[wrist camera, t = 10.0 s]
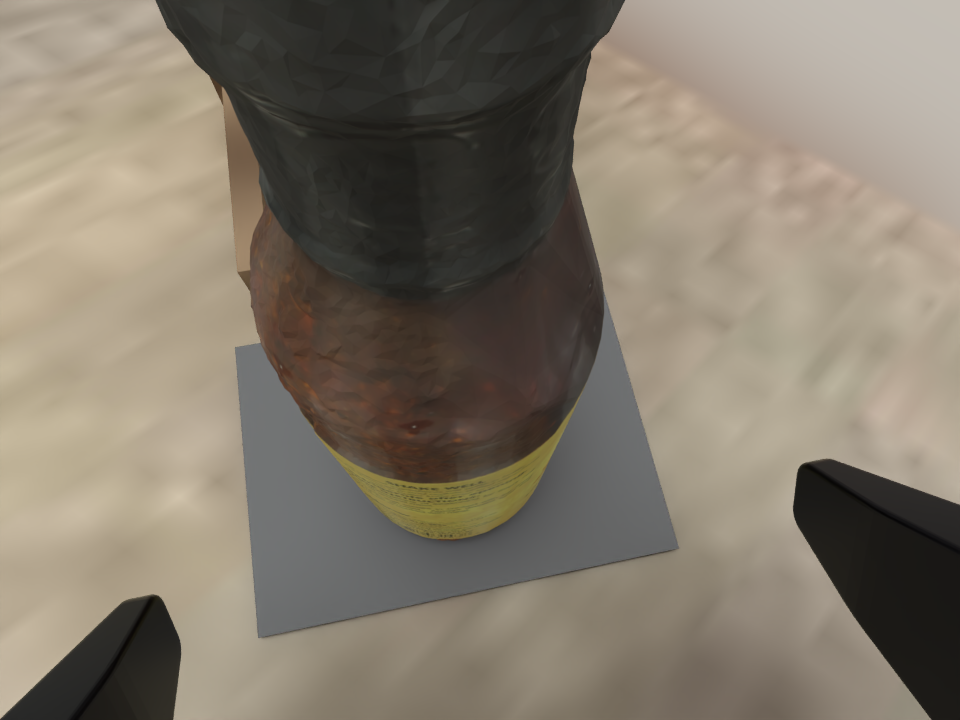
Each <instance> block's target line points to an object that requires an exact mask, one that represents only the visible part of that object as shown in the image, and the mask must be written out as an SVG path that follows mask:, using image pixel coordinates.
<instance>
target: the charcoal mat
mask: <svg viewBox="0 0 960 720" xmlns="http://www.w3.org/2000/svg"><path fill="white" fill-rule="evenodd" d="M235 352H236V364H237V377H238V389H239V402H240V415H241V427H242V440H243V452H244V465H245V477H246V490H247V502H248V515H249V527H250V540H251V553H252V565H253V578H254V590H255V603H256V615H257V628H258V638H260V637H265V636H270V635H275V634H279V633H284V632H289V631H293V630H298V629H303V628H307V627H312V626H317V625H321V624H326V623H331V622H336V621H340V620H345V619H350V618H354V617H359V616H364V615H368V614H373V613H378V612H382V611H387V610H392V609H397V608H401V607H406V606H411V605H415V604H420V603H425V602H429V601H434V600H439V599H443V598H448V597H453V596H458V595H462V594H467V593H472V592H476V591H481V590H486V589H490V588H495V587H500V586H504V585H509V584H514V583H519V582H523V581H528V580H533V579H537V578H542V577H547V576H551V575H556V574H561V573H565V572H570V571H575V570H579V569H584V568H589V567H594V566H598V565H603V564H608V563H612V562H617V561H622V560H626V559H631V558H636V557H640V556H645V555H650V554H655V553H659V552H664V551H669V550H673V549H678V548H679V547H678V543H677V540H676V536H675V533H674V529H673V526H672V523H671V519H670V516H669V512H668V509H667V506H666V502H665V499H664V495H663V492H662V488H661V485H660V482H659V478H658V475H657V471H656V468H655V465H654V461H653V458H652V454H651V451H650V447H649V444H648V441H647V437H646V434H645V430H644V427H643V424H642V420H641V417H640V413H639V410H638V406H637V403H636V400H635V396H634V393H633V389H632V386H631V383H630V379H629V376H628V372H627V369H626V365H625V362H624V359H623V355H622V352H621V348H620V345H619V342H618V338H617V335H616V331H615V328H614V324H613V321H612V318H611V314H610V311H609V307H608V304H607V300H606V297H605V294H604V319H603V327H602V336H601V341H600V344H599V348H598V352H597V356H596V360H595V363H594V365H593V368H592V370H591V373H590V375H589V378H588V380H587V383H586V385H585V388H584V390H583V392H582V394H581V396H580V398H579V400H578V402H577V405H576V407H575V409H574V411H573V413H572V415H571V418H570V420H569V422H568V424H567V426H566V428H565V430H564V432H563V434H562V436H561V438H560V440H559V442H558V444H557V446H556V448H555V450H554V452H553V454H552V456H551V458H550V460H549V462H548V465H547V467H546V469H545V471H544V473H543V475H542V477H541V479H540V481H539V483H538V485H537V487H536V489H535V490H534V492H533V494H532V495H531V496H530V498H529V499H528V501H527V502H526V503H525V504H524V506H523V507H522V508H521V509H520V510H519V511H518V512H517V513H516V514H515V515H514V516H512V517H511V518H510V519H509V520H507V521H506V522H504V523H502V524H500V525H499V526H497V527H495V528H493V529H492V530H490V531H488V532H485V533H482V534H479V535H475V536H472V537H467V538H462V539H459V540H456V541H450V540H444V541H441V540H437V539H432V538H426V537H422V536H419V535H417V534H414V533H412V532H409V531H407V530H405V529H404V528H402V527H400V526H399V525H397V524H395V523H393V522H392V521H391V520H390V519H388V518H387V517H386V516H385V515H384V514H382V513H381V512H380V511H379V509H378V508H377V507H376V506H375V505H374V504H373V503H372V502H371V501H370V500H369V498H368V497H367V496H366V495H365V494H364V493H363V491H362V490H361V489H360V488H359V487H358V485H357V484H356V483H355V481H354V480H353V479H352V478H351V477H350V475H349V474H348V473H347V471H346V470H345V469H344V468H343V467H342V465H341V464H340V463H339V462H338V461H337V459H336V458H335V457H334V456H333V455H332V453H331V452H330V451H329V450H328V448H327V447H326V446H325V445H324V444H323V442H322V441H321V440H320V439H319V437H318V436H317V435H316V434H315V432H314V429H313V428H312V426H311V425H310V424H309V422H308V421H307V420H306V418H305V417H304V416H303V414H302V413H301V411H300V409H299V406H298V404H297V403H296V402H295V400H294V399H293V397H292V396H291V394H290V392H288V391H287V390H286V389H285V388H284V387H283V385H282V383H281V382H280V380H279V377H278V374H277V372H276V371H275V369H274V368H273V366H272V365H271V363H270V361H269V360H268V359H267V356H266V353H265V351H264V350H263V348H262V346H261V343H258V344H252V345H246V346H240V347H235Z"/></svg>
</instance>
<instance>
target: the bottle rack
mask: <svg viewBox="0 0 960 720" xmlns="http://www.w3.org/2000/svg"><path fill="white" fill-rule="evenodd" d="M210 78H211V77H210ZM211 80H212V83H213V85H214V87H215V89H216V91H217V93H218V95H219V98H220V100H221V102H222V104H223V107H224V119H225V131H226V142H227V154H228V166H229V178H230V190H231V202H232V213H233V225H234V237H235V249H236V261H237V272H238V274H239V275H240V277H241V278H242V280H243V281H244V283H245V284H246V286H247V287H248V289H249V290H250V289H251V287H250V273H249V272H250V270H251V269H250V245H251V242H252V237H253V233H254V230H255V228H256V226H257V223H258V221H259V219H260V217H261V215H262V213H263V210H264V208H265V205H266V201H265V199H264V196H263V193H262V190H261V187H260V184H259V171H260V165H259V163H258V161H257V159H256V157H255V155H254V152H253V150H252V148H251V145H250V143H249V141H248V138H247V137H246V135H245V133H244V131H243V129H242V127H241V125H240V123H239V121H238V118H237V116H236V114H235V111H234V109H233V106H232V104H231V101H230V99H229V96H228V95H227V93H226V91H225V89H224V88H223V87H222V86H221V85H220V84H219V83H217V82H216V81H215V80H214V79H213V78H211Z"/></svg>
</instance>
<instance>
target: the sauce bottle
mask: <svg viewBox="0 0 960 720" xmlns="http://www.w3.org/2000/svg"><path fill="white" fill-rule="evenodd" d="M624 1H625V0H156V3H157V5H158V7H159V9H160V12H161V14H162V16H163V18H164V21H165V23H166V25H167V28H168V29H169V30H170V31H171V32H172V33H173V34H174V35H175V37H176V38H177V39H178V40H179V41H180V42H181V43H182V44H183V45H184V47H185V48H186V50H187V51H188V53H189V54H190V56H191V57H192V59H193V60H194V62H195V63H196V64H197V65H198V66H199V67H200V68H201V69H202V70H204V71H205V72H206V73H207V74H208V75H209V76H210V77H211V78H213V79H214V80H215V81H216V82H217V83H219V84H220V85H221V86H222V87H223V88H224V89H225V91H226V93H227V95H228V96H229V99H230V101H231V104H232V106H233V109H234V111H235V114H236V116H237V118H238V121H239V123H240V125H241V127H242V129H243V131H244V133H245V135H246V137H247V138H248V141H249V143H250V145H251V148H252V150H253V152H254V155H255V157H256V159H257V161H258V163H259V165H260V171H259V184H260V187H261V190H262V193H263V196H264V199H265V201H266V205H265V208H264V210H263V213H262V215H261V217H260V219H259V221H258V223H257V226H256V228H255V230H254V233H253V237H252V242H251V245H250V269H251V270H250V272H249V273H250V287H251V289H250V294H251V307H252V309H253V311H254V317H255V322H256V328H257V332H258V334H259V337H260V341H261V346H262V348H263V350H264V351H265V353H266V356H267V359H268V360H269V361H270V363H271V365H272V366H273V368H274V369H275V371H276V372H277V374H278V377H279V380H280V382H281V383H282V385H283V387H284V388H285V389H286V390H287V391H288V392H290V394H291V396H292V397H293V399H294V400H295V402H296V403H297V404H298V406H299V409H300V411H301V413H302V414H303V416H304V417H305V418H306V420H307V421H308V422H309V424H310V425H311V426H312V428H313V429H314V432H315V434H316V435H317V436H318V437H319V439H320V440H321V441H322V442H323V444H324V445H325V446H326V447H327V448H328V450H329V451H330V452H331V453H332V455H333V456H334V457H335V458H336V459H337V461H338V462H339V463H340V464H341V465H342V467H343V468H344V469H345V470H346V471H347V473H348V474H349V475H350V477H351V478H352V479H353V480H354V481H355V483H356V484H357V485H358V487H359V488H360V489H361V490H362V491H363V493H364V494H365V495H366V496H367V497H368V498H369V500H370V501H371V502H372V503H373V504H374V505H375V506H376V507H377V508H378V509H379V511H380V512H381V513H382V514H384V515H385V516H386V517H387V518H388V519H390V520H391V521H392V522H393V523H395V524H397V525H399V526H400V527H402V528H404V529H405V530H407V531H409V532H412V533H414V534H417V535H419V536H422V537H426V538H432V539H437V540H441V541H444V540H450V541H456V540H459V539H462V538H467V537H472V536H475V535H479V534H482V533H485V532H488V531H490V530H492V529H493V528H495V527H497V526H499V525H500V524H502V523H504V522H506V521H507V520H509V519H510V518H511V517H512V516H514V515H515V514H516V513H517V512H518V511H519V510H520V509H521V508H522V507H523V506H524V504H525V503H526V502H527V501H528V499H529V498H530V496H531V495H532V494H533V492H534V490H535V489H536V487H537V485H538V483H539V481H540V479H541V477H542V475H543V473H544V471H545V469H546V467H547V465H548V462H549V460H550V458H551V456H552V454H553V452H554V450H555V448H556V446H557V444H558V442H559V440H560V438H561V436H562V434H563V432H564V430H565V428H566V426H567V424H568V422H569V420H570V418H571V415H572V413H573V411H574V409H575V407H576V405H577V402H578V400H579V398H580V396H581V394H582V392H583V390H584V388H585V385H586V383H587V380H588V378H589V375H590V373H591V370H592V368H593V365H594V363H595V360H596V356H597V352H598V348H599V344H600V341H601V336H602V327H603V319H604V289H603V283H602V277H601V272H600V268H599V264H598V261H597V257H596V253H595V249H594V246H593V242H592V238H591V234H590V231H589V227H588V223H587V220H586V216H585V212H584V209H583V205H582V201H581V198H580V194H579V190H578V187H577V183H576V179H575V176H574V172H573V168H572V162H573V149H574V139H573V135H574V129H575V125H576V121H577V116H578V110H579V105H580V101H581V96H582V91H583V87H584V84H585V81H586V73H587V68H588V65H589V62H590V59H591V51H592V50H593V48H594V47H595V46H596V44H597V43H598V42H599V40H600V39H601V38H603V37H604V36H605V35H606V34H607V33H608V32H609V31H610V29H611V27H612V25H613V23H614V21H615V19H616V17H617V15H618V13H619V11H620V9H621V7H622V5H623V3H624Z"/></svg>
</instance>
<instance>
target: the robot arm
mask: <svg viewBox="0 0 960 720" xmlns="http://www.w3.org/2000/svg"><path fill="white" fill-rule="evenodd" d="M793 513H794V518H795V521H796V523H797V525H798V527H799V529H800V531H801V532H802V534H803V535H804V537H805V539H806V540H807V542H808V544H809V545H810V547H811V549H812V550H813V552H814V553H815V555H816V557H817V558H818V560H819V562H820V563H821V565H822V566H823V568H824V570H825V571H826V573H827V575H828V576H829V578H830V579H831V581H832V583H833V584H834V586H835V588H836V589H837V591H838V593H839V594H840V596H841V597H842V599H843V601H844V602H845V604H846V605H847V607H848V608H849V610H850V611H851V613H852V614H853V616H854V617H855V619H856V620H857V621H858V623H859V624H860V626H861V627H862V628H863V630H864V631H865V633H866V634H867V635H868V636H869V638H870V639H871V640H872V642H873V643H874V644H875V646H876V647H877V648H878V650H879V651H880V652H881V654H882V655H883V656H884V658H885V659H886V660H887V662H888V663H889V664H890V666H891V667H892V668H893V669H894V671H895V672H896V673H897V675H898V676H899V677H900V679H901V680H902V681H903V683H904V684H905V685H906V687H907V688H908V689H909V691H910V692H911V693H912V695H913V696H914V697H915V699H916V700H917V701H918V702H919V704H920V705H921V706H922V708H923V709H924V710H925V712H926V713H927V714H928V716H929V717H930V718H931V720H960V505H959V504H956V503H953V502H950V501H947V500H945V499H942V498H939V497H936V496H933V495H931V494H928V493H925V492H922V491H919V490H917V489H914V488H911V487H908V486H905V485H903V484H900V483H897V482H894V481H891V480H889V479H886V478H883V477H880V476H877V475H875V474H872V473H869V472H866V471H863V470H861V469H858V468H855V467H852V466H849V465H847V464H844V463H841V462H838V461H835V460H832V459H821V460H816V461H811V462H806V463H804V464H802V465H801V466H800V467H799V469H798V472H797V479H796V487H795V496H794V504H793ZM180 661H181V643H180V639H179V636H178V634H177V631H176V629H175V627H174V624H173V622H172V620H171V618H170V615H169V613H168V611H167V608H166V606H165V604H164V602H163V600H162V599H161V598H160V597H159V596H157V595H147V596H142V597H137V598H132V599H128V600H126V601H124V602H122V603H121V604H120V605H119V606H118V607H117V608H115V609H114V610H113V611H112V612H111V613H110V614H109V615H108V616H107V617H106V618H105V619H104V620H103V621H102V622H101V623H100V624H99V625H98V626H97V627H96V628H95V629H94V630H93V631H91V632H90V633H89V634H88V635H87V636H86V637H85V638H84V639H83V640H82V641H81V642H80V643H79V644H78V645H77V646H76V647H75V648H74V649H73V650H72V651H71V652H70V653H69V654H68V655H66V656H65V657H64V658H63V659H62V660H61V661H60V662H59V663H58V664H57V665H56V666H55V667H54V668H53V669H52V670H51V671H50V672H49V673H48V674H47V675H46V676H45V677H44V678H42V679H41V680H40V681H39V682H38V683H37V684H36V685H35V686H34V687H33V688H32V689H31V690H30V691H29V692H28V693H27V694H26V695H25V696H24V697H23V698H22V699H21V700H20V701H19V702H17V703H16V704H15V705H14V706H13V707H12V708H11V709H10V710H9V711H8V712H7V713H6V714H5V715H4V716H3V717H2V718H1V719H0V720H173V717H174V709H175V701H176V693H177V685H178V677H179V669H180Z"/></svg>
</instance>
